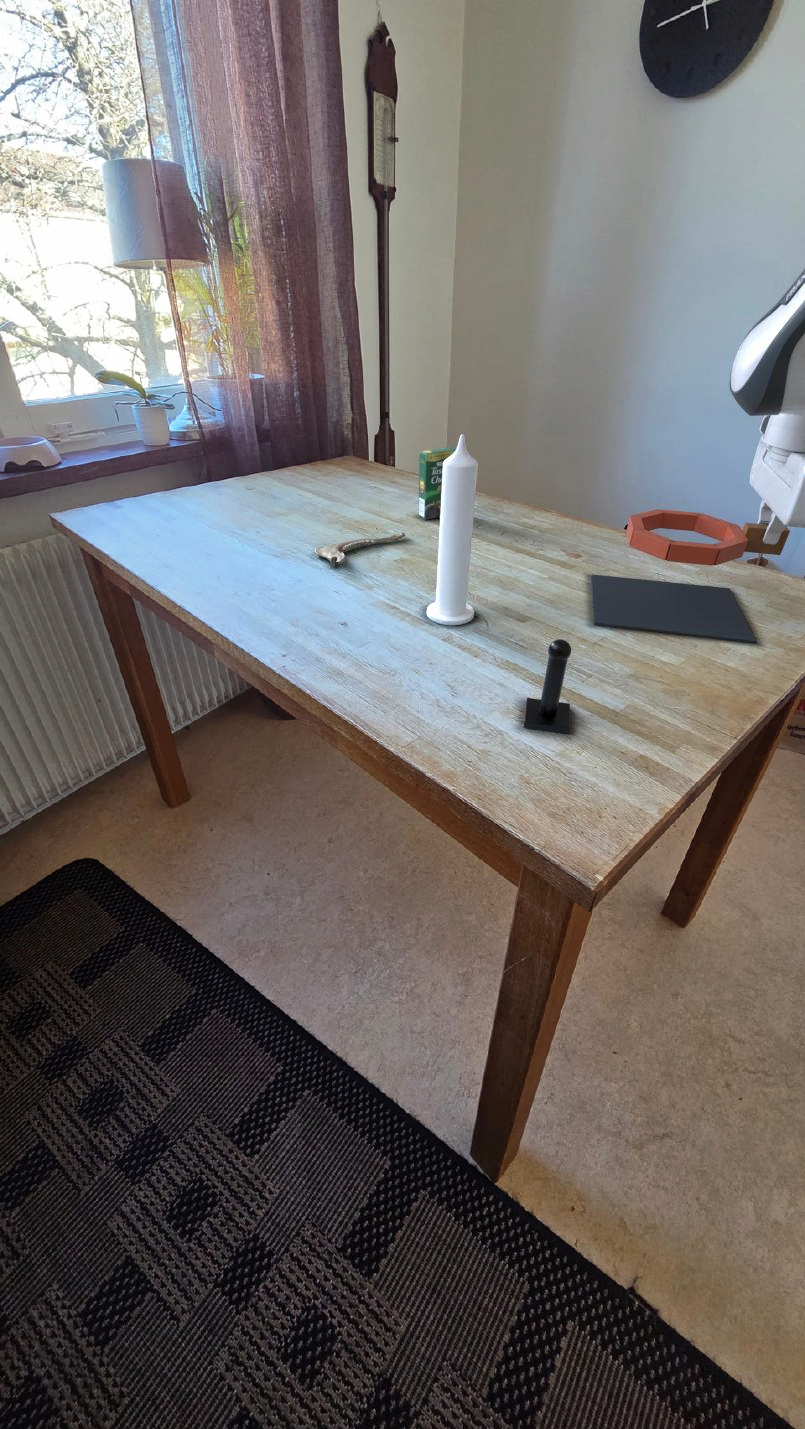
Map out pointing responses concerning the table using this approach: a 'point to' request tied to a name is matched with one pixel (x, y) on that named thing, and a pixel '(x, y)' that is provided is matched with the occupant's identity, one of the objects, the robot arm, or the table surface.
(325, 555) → the jawbone
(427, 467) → the coffee box
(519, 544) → the table surface
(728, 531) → the hoop
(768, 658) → the table surface
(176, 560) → the table surface
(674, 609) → the mat
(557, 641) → the peg stand
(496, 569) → the table surface
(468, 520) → the candle
